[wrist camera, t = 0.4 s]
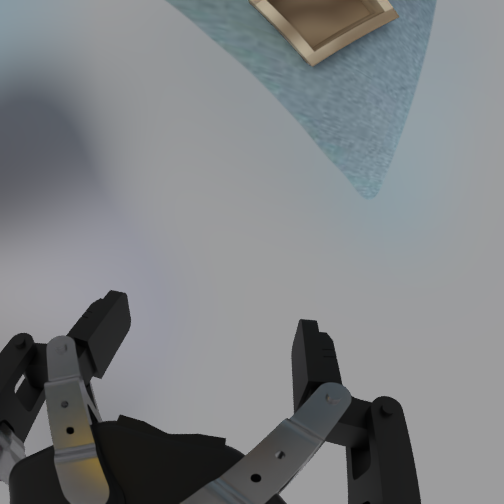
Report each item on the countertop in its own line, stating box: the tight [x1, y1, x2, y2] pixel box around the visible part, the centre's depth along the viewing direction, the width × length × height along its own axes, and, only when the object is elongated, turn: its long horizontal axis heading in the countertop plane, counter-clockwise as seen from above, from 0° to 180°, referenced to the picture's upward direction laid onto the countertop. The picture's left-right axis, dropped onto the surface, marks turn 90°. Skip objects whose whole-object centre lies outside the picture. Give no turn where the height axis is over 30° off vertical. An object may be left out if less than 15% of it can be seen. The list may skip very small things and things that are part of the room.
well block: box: [248, 0, 399, 67], centre depth 21 cm, size 10×12×5 cm
